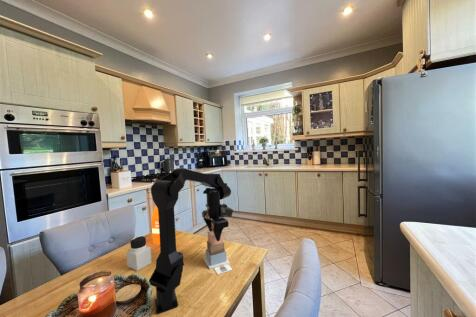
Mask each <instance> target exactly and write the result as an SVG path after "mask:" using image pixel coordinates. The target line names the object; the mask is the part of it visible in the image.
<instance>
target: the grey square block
mask: <svg viewBox="0 0 476 317" xmlns="http://www.w3.org/2000/svg"><path fill="white" fill-rule="evenodd" d="M205 255H206V256H205V257H203V261H204V262H205V264H206V266H207V268H208V269H209V270H214V268H217V267H220V266H222V265H223V266H224V265H227V264H229V265H230V264H231V262H230V260H229V259H228V257H227V251H226V250H225V252H224V253H220V254H216V255H212V256H211V255H210V253H209V251H208V250H207V248H206V249H205Z"/></svg>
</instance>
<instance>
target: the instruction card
mask: <svg viewBox="0 0 476 317" xmlns="http://www.w3.org/2000/svg"><path fill="white" fill-rule="evenodd" d="M213 270H214V271H215V273H216V274H217V275H220V274H224V273H227V272H230V271H232V270H233V268H232V267H231V266H230V264H227V265H224V266H223V265H222V266H220V267H217V268H214V269H213Z"/></svg>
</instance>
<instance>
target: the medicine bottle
mask: <svg viewBox="0 0 476 317" xmlns="http://www.w3.org/2000/svg"><path fill="white" fill-rule="evenodd" d="M152 258H153V257H152V247H150V246H148V245H147V239H146V236H142V235H141V236H135V237H134V238H132V239H131V240H130V249H128V250H126V262H127V267H128V268H130V269H133V270H135V271H136V272H138V271H140V270H141V269H143V268H145V267H146V266H148V265H150V264H152V263H153V262H152Z"/></svg>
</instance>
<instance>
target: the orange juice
mask: <svg viewBox="0 0 476 317" xmlns="http://www.w3.org/2000/svg"><path fill="white" fill-rule="evenodd" d="M150 219H151V231H152V232H151V234H152V244H153V245H158V246H160V235H159V217H158V208H157V206H156V205H155V204H154V209H153V212H152V215H151V218H150Z"/></svg>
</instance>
